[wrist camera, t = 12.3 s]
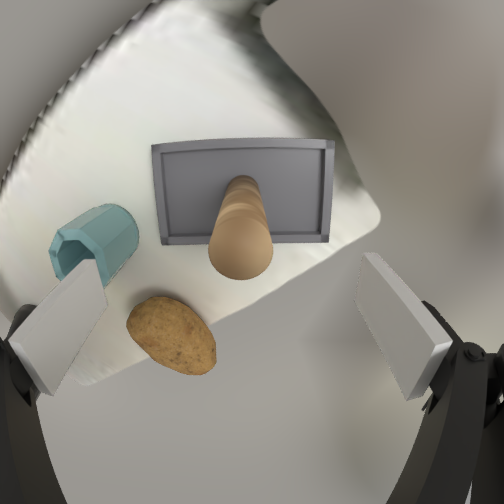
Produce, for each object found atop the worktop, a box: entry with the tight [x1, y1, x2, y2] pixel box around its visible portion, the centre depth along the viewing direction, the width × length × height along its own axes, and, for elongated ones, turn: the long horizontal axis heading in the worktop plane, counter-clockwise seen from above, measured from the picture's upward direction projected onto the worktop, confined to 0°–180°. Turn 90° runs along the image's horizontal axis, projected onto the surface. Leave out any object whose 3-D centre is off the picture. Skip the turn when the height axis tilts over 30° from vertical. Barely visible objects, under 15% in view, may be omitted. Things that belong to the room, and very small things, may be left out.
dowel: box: [208, 175, 273, 280], centre depth 23 cm, size 4×4×17 cm
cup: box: [49, 204, 139, 289], centre depth 30 cm, size 8×8×10 cm
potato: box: [126, 297, 216, 375], centre depth 36 cm, size 10×14×8 cm
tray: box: [151, 138, 335, 245], centre depth 31 cm, size 20×12×2 cm, turn 91°
